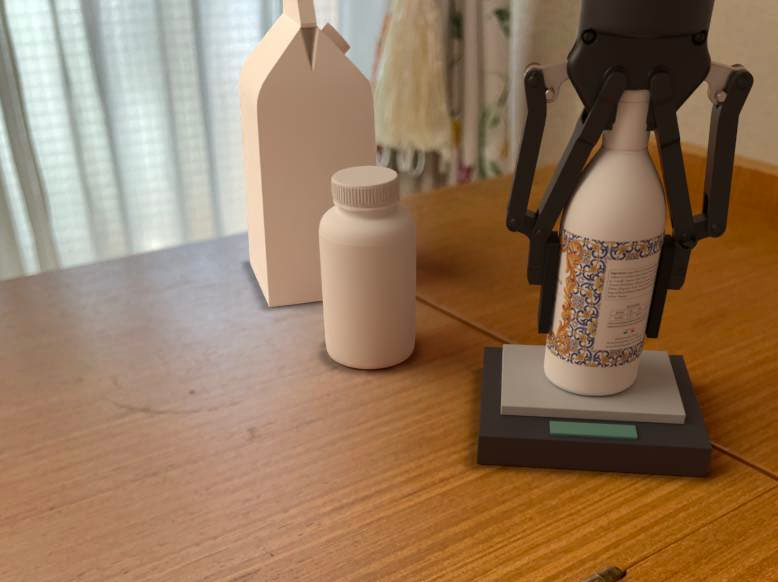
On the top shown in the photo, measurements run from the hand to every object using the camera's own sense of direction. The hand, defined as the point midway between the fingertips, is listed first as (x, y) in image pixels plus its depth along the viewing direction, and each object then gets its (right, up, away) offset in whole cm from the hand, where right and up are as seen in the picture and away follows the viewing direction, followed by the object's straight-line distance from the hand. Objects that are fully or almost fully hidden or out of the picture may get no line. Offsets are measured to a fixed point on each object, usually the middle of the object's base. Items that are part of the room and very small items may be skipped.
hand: (596, 327), depth 64 cm
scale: (0, -6, +4) cm, 7 cm away
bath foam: (0, -3, +3) cm, 4 cm away
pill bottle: (-17, +1, +14) cm, 21 cm away
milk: (-22, +12, +27) cm, 37 cm away
